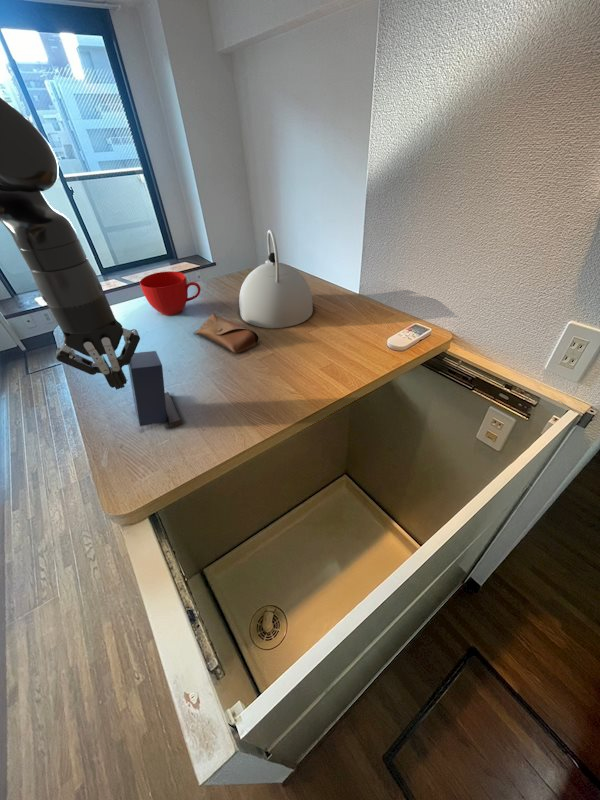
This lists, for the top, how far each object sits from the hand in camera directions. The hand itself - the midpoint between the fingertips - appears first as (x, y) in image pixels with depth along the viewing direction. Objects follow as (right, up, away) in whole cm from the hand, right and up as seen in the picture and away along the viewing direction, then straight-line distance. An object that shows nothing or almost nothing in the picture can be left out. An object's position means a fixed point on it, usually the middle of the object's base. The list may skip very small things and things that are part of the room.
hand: (119, 386), depth 59 cm
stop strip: (+6, -5, +8) cm, 11 cm away
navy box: (+3, -6, +7) cm, 9 cm away
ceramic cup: (-6, +26, +44) cm, 51 cm away
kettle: (+25, +26, +44) cm, 57 cm away
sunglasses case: (+12, +14, +30) cm, 36 cm away
